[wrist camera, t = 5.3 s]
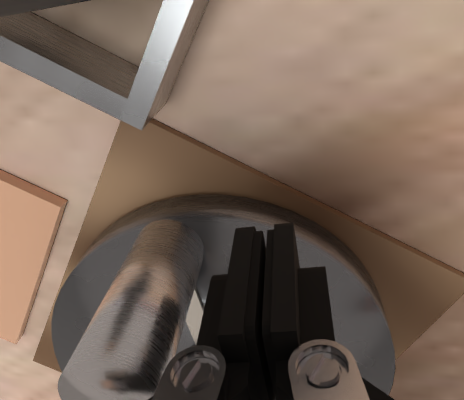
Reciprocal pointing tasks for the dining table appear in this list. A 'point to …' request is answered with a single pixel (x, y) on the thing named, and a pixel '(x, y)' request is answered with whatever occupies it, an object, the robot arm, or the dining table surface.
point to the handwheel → (191, 294)
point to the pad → (23, 248)
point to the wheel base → (265, 189)
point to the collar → (104, 61)
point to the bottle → (30, 5)
